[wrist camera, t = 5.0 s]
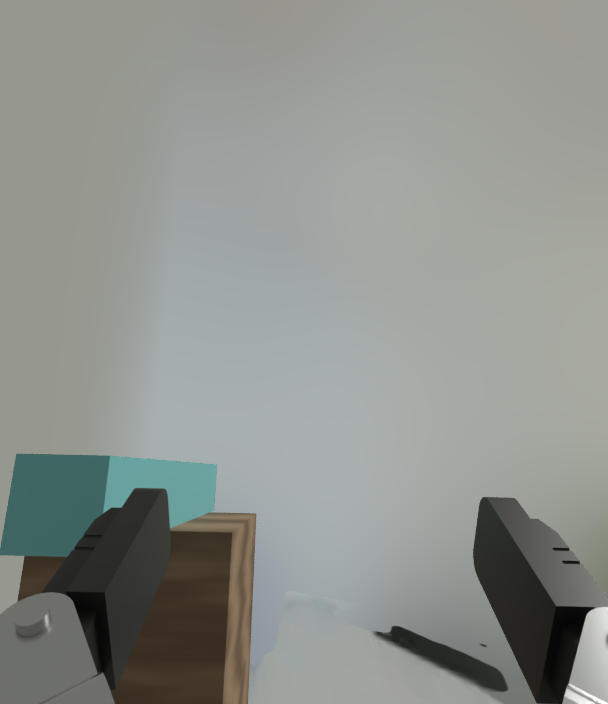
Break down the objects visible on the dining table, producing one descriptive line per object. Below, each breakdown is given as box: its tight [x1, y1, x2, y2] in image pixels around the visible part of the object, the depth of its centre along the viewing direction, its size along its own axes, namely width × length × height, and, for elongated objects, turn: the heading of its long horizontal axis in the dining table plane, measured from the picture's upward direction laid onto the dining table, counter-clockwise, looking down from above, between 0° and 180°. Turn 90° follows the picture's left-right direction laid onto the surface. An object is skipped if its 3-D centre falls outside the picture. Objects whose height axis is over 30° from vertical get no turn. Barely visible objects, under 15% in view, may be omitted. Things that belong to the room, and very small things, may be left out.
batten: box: [0, 454, 217, 557], centre depth 31 cm, size 24×4×4 cm, turn 179°
